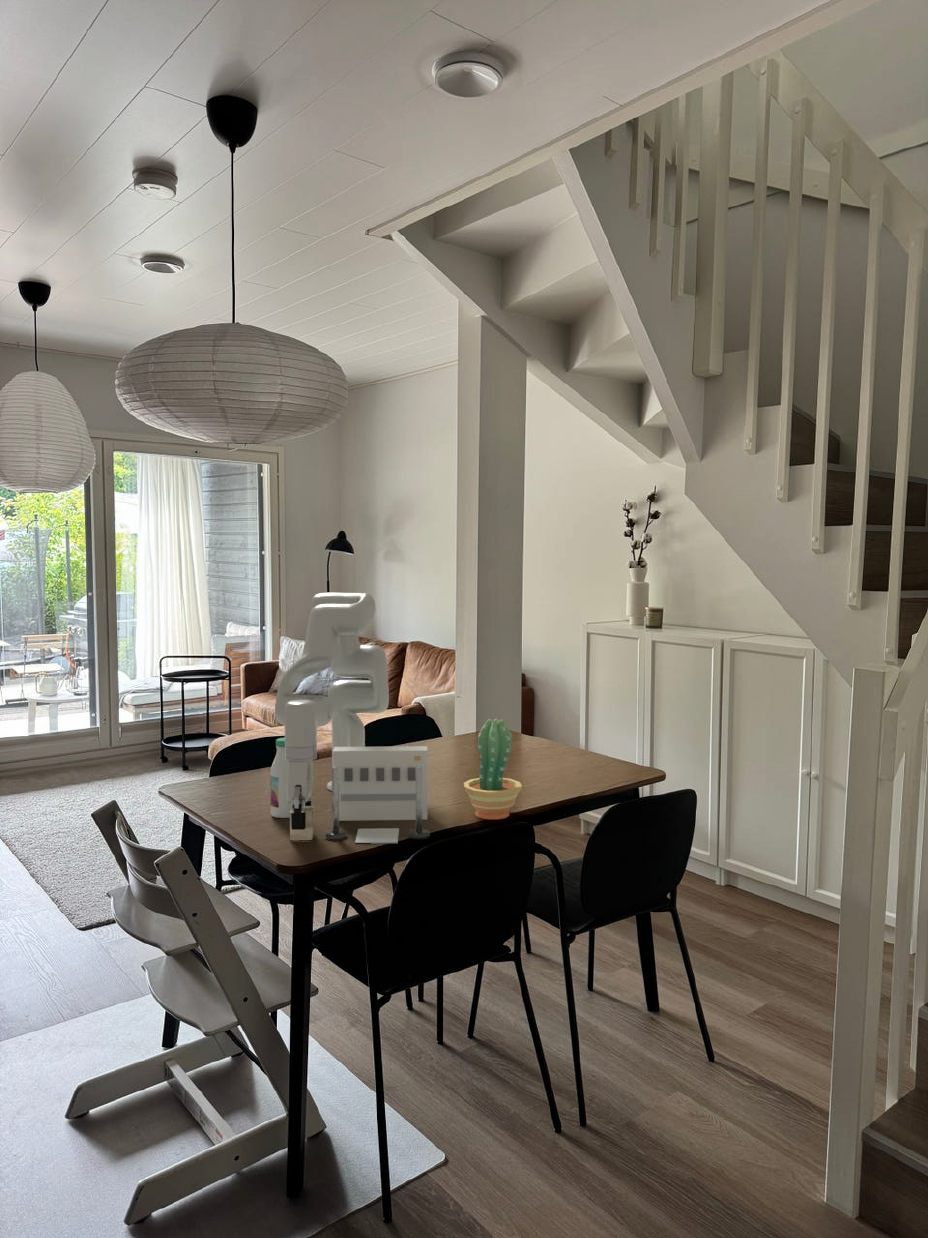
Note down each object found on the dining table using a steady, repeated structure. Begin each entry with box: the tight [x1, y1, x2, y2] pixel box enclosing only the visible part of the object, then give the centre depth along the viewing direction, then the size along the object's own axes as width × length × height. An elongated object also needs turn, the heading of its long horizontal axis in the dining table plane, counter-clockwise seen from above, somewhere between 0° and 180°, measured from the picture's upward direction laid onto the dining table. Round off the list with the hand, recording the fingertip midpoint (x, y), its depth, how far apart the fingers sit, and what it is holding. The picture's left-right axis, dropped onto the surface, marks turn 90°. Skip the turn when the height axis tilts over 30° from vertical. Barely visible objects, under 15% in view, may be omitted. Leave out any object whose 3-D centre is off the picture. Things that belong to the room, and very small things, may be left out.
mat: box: [354, 827, 400, 845], centre depth 207 cm, size 10×10×1 cm
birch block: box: [289, 805, 315, 841], centre depth 206 cm, size 5×5×7 cm
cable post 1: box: [324, 766, 347, 841], centre depth 206 cm, size 5×5×17 cm
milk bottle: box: [269, 737, 293, 819], centre depth 224 cm, size 8×8×20 cm
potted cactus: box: [463, 718, 523, 820], centre depth 224 cm, size 15×15×25 cm
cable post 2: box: [408, 766, 431, 840], centre depth 207 cm, size 5×5×17 cm
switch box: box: [333, 745, 429, 822], centre depth 222 cm, size 6×24×18 cm, turn 92°
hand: (301, 823), depth 206 cm, fingers open, 9 cm apart
